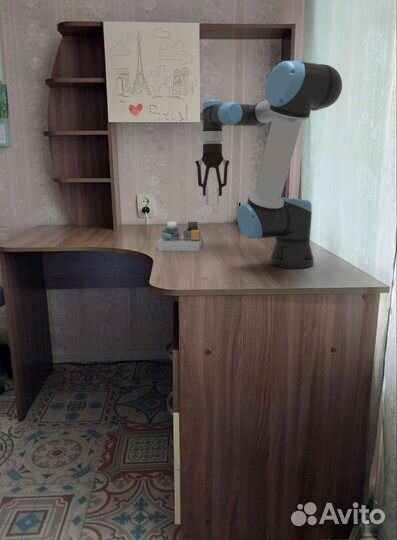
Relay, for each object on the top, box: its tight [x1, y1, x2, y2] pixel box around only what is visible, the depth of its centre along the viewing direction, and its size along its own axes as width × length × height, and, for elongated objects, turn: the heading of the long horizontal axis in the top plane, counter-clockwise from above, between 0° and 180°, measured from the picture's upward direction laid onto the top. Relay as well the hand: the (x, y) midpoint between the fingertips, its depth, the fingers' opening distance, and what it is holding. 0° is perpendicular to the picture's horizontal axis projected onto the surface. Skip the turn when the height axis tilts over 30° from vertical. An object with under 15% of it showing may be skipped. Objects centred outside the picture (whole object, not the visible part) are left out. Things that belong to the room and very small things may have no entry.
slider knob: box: [191, 230, 199, 240], centre depth 174 cm, size 3×3×4 cm
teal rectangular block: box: [160, 233, 172, 239], centre depth 176 cm, size 2×4×1 cm, turn 84°
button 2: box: [187, 221, 198, 230], centre depth 181 cm, size 4×4×3 cm
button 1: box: [166, 220, 178, 230], centre depth 182 cm, size 4×4×3 cm
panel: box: [157, 227, 204, 252], centre depth 179 cm, size 15×17×7 cm
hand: (212, 204), depth 170 cm, fingers open, 4 cm apart
